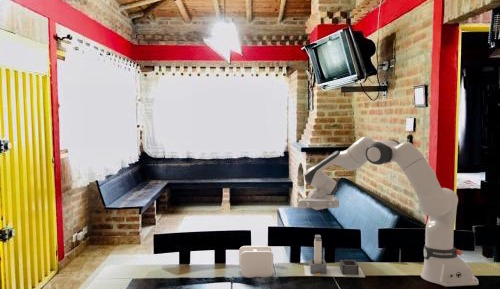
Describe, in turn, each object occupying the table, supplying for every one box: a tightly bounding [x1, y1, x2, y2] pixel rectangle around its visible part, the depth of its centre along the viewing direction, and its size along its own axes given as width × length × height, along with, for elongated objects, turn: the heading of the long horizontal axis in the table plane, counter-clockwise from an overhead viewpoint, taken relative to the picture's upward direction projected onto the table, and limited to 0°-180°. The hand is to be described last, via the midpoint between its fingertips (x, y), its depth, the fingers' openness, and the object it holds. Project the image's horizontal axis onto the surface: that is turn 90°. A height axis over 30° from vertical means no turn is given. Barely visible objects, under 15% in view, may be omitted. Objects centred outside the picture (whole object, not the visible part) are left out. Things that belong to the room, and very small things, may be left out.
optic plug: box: [313, 234, 323, 264], centre depth 186 cm, size 3×4×16 cm
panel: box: [303, 259, 366, 278], centre depth 186 cm, size 26×13×5 cm, turn 85°
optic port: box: [308, 258, 327, 274], centre depth 186 cm, size 7×8×4 cm
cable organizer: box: [238, 245, 274, 279], centre depth 185 cm, size 15×11×12 cm
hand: (319, 206), depth 199 cm, fingers open, 8 cm apart
